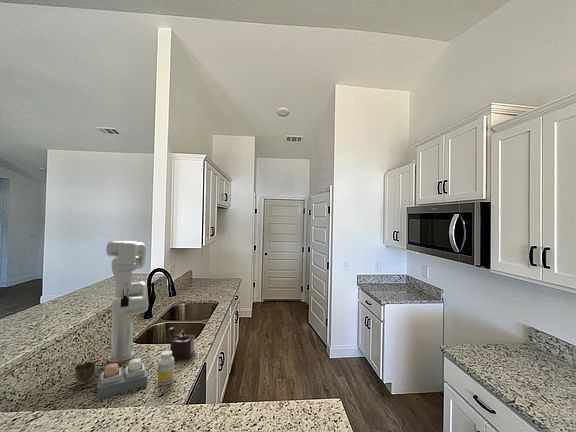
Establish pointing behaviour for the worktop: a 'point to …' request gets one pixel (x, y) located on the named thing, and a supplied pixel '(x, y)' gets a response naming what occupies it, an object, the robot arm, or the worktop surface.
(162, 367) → the supplement bottle
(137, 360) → the knob cream
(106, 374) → the brown egg
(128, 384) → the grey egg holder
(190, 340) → the dark brown coffee grinder
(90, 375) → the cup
